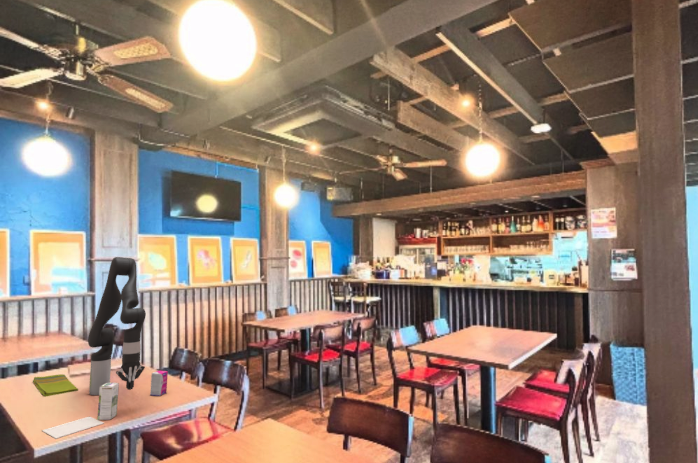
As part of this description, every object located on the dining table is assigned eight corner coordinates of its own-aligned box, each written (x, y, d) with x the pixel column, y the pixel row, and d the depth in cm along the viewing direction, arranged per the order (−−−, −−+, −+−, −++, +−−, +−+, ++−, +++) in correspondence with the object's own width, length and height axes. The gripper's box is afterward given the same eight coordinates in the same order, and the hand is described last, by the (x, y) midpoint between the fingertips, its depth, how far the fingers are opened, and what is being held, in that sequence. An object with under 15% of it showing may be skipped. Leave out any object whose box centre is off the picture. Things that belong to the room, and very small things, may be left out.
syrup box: (103, 415, 183) (105, 382, 184) (117, 415, 183) (119, 382, 185) (97, 420, 177) (98, 386, 178) (111, 420, 178) (112, 386, 179)
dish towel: (64, 377, 243) (64, 372, 243) (78, 391, 217) (79, 385, 218) (32, 382, 232) (32, 377, 232) (43, 398, 206) (43, 391, 207)
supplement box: (159, 396, 209) (160, 373, 209) (149, 395, 210) (150, 373, 211) (167, 393, 214) (168, 370, 215) (157, 392, 215) (158, 370, 216)
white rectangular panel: (41, 431, 166) (41, 430, 166) (89, 417, 181) (89, 416, 181) (55, 438, 159) (55, 438, 159) (104, 423, 174) (104, 422, 174)
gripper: (140, 347, 198) (139, 384, 196) (112, 352, 187) (111, 391, 185) (149, 349, 194) (148, 387, 192) (121, 355, 182) (119, 394, 181)
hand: (129, 389), depth 189 cm, fingers closed
